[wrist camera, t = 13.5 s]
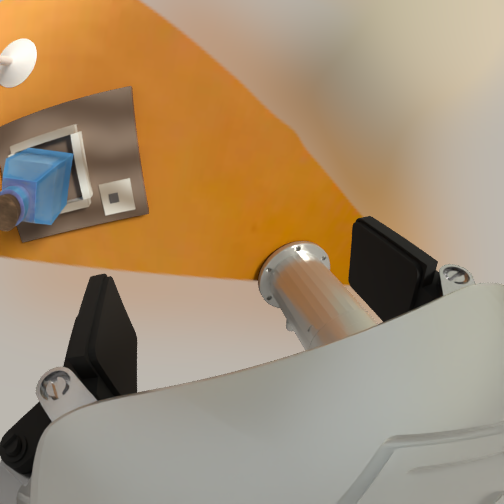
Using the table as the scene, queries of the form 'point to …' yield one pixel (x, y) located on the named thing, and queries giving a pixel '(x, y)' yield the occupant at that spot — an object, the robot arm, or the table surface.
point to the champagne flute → (17, 62)
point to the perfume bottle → (34, 187)
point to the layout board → (86, 159)
